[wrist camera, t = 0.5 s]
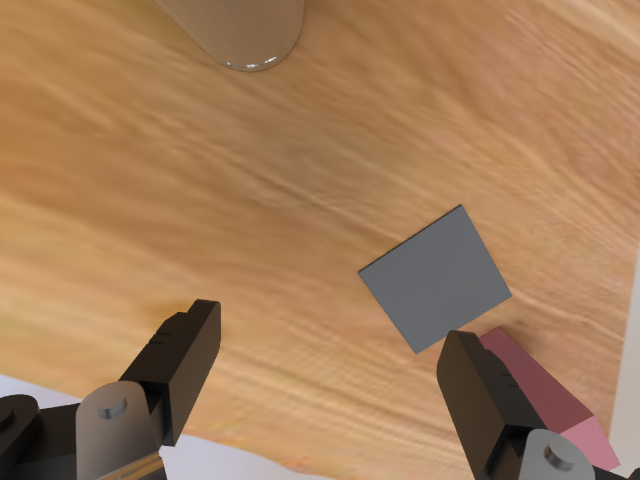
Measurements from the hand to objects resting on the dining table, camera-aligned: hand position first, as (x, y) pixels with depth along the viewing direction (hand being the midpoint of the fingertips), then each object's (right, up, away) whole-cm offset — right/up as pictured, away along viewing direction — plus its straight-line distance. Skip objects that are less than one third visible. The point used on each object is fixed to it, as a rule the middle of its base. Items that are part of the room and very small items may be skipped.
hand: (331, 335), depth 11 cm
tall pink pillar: (+19, -11, +25) cm, 33 cm away
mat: (+12, -1, +22) cm, 25 cm away
